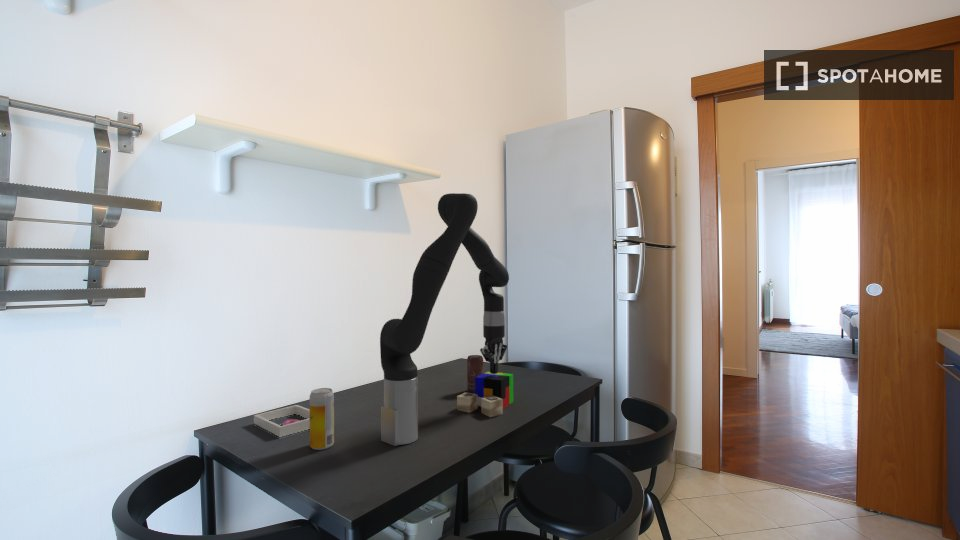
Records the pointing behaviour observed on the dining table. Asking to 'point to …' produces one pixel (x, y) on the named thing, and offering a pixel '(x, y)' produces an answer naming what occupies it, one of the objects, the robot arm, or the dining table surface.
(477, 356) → the can
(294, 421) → the donut
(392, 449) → the dining table surface
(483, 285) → the robot arm
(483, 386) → the puzzle toy
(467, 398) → the marked block
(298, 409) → the dish rim
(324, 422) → the beer can
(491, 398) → the marked block
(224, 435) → the dining table surface
